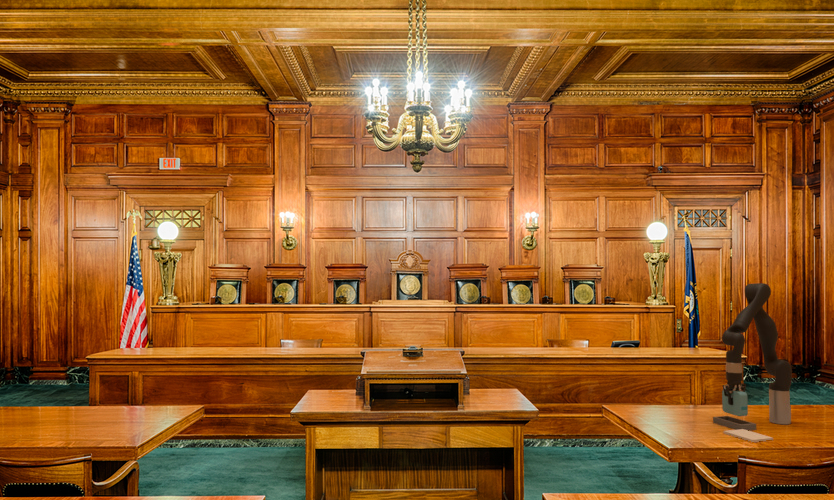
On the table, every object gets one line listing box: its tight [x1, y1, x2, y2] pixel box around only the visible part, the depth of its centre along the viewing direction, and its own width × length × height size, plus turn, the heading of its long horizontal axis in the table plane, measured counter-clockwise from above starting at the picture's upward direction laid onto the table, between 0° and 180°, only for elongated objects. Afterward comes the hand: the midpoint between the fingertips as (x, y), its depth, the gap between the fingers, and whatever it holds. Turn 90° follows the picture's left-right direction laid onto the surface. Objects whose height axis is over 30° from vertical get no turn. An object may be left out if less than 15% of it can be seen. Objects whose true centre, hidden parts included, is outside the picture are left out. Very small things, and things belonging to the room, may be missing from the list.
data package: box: [721, 389, 749, 417], centre depth 293 cm, size 12×4×12 cm, turn 15°
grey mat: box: [722, 429, 774, 443], centre depth 272 cm, size 13×16×1 cm
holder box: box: [712, 415, 757, 431], centre depth 292 cm, size 10×17×3 cm, turn 20°
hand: (734, 404), depth 293 cm, fingers closed on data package, 4 cm apart
